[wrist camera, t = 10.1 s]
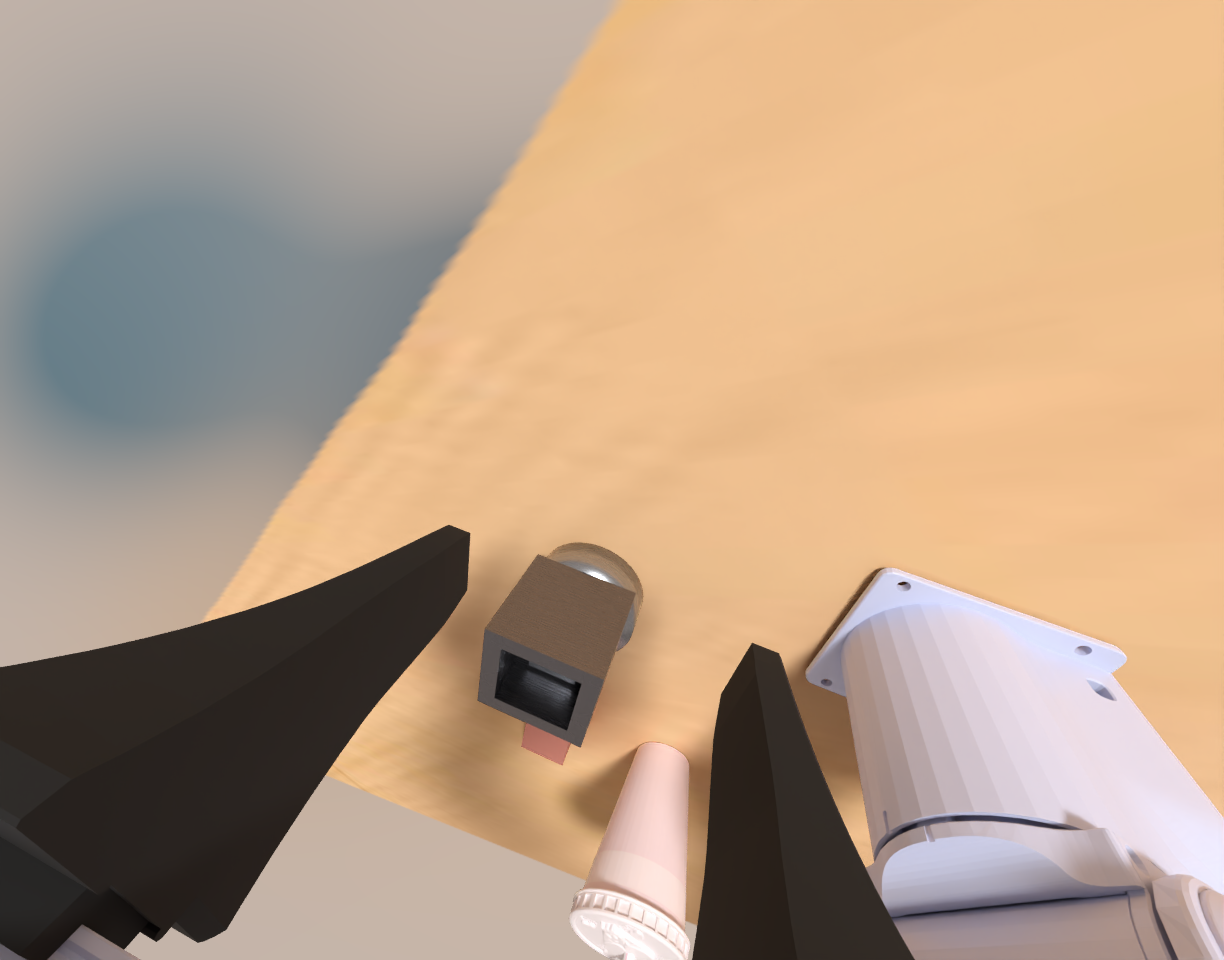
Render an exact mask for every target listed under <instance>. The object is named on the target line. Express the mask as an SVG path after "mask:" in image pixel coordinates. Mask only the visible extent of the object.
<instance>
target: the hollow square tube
mask: <svg viewBox="0 0 1224 960" xmlns="http://www.w3.org/2000/svg"><path fill="white" fill-rule="evenodd" d="M635 595H636V593H635V592H632V591H630V590H627V589H625V588H622V587H620V586H617V585H615V584H612V583H609V582H607V581H604V580H602V579H599V578H597V577H594V576H592V575H589V574H587V573H584V572H581V571H579V570H577V569H574V568H571V567H569V566H566V565H564V564H561V563H559V562H556V561H554V560H551V559H549V558H546V557H544V556H541V555H539V554H538V555H537V557H536V558H535V560H534V561H533V562H532V564H531V565H530V567H529V568H528V569H527V571H526V572H525V574H524V575H523V576H522V578H521V579H520V581H519V582H518V583H517V585H516V586H515V587H514V589H513V590H512V592H511V593H510V594H509V596H508V597H507V599H506V600H505V601H504V603H503V604H502V606H501V607H500V608H499V610H498V611H497V613H496V614H495V615H494V617H493V618H492V620H491V621H490V622H489V624H488V625H487V627H486V628H485V633H484V643H483V653H482V663H481V673H480V683H479V693H478V701H479V702H482V703H484V704H486V705H488V706H490V707H493V708H495V709H497V710H499V711H501V712H504V713H506V714H508V715H510V716H512V717H515V718H517V719H519V720H521V721H523V722H526V723H528V724H530V725H532V726H534V727H537V728H539V729H541V730H543V731H545V732H548V733H550V734H552V735H554V736H556V737H559V738H561V739H563V740H565V741H567V742H570V743H572V744H574V745H576V746H578V747H581V745H582V742H583V739H584V737H585V734H586V731H587V728H588V726H589V723H590V720H591V717H592V715H593V712H594V709H595V706H596V704H597V701H598V698H599V695H600V693H601V690H602V687H603V684H604V682H605V679H606V676H607V673H608V671H609V668H610V665H611V662H612V660H613V657H614V654H615V651H616V648H617V646H618V643H619V640H620V637H621V634H622V632H623V629H624V626H625V623H626V620H627V618H628V615H629V612H630V609H631V606H632V603H633V601H634V598H635ZM529 661H530V662H533V663H535V664H537V665H539V666H542V667H544V668H546V669H549V670H551V671H553V672H556V673H558V674H560V675H563V676H565V677H567V678H570V679H572V680H574V681H576V682H575V684H572V683H569V682H567V681H565V680H562V679H560V678H558V677H555V676H553V675H551V674H548V673H546V672H544V671H541V670H539V669H537V668H534V667H532V666H530V665H529Z"/></svg>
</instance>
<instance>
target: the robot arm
mask: <svg viewBox="0 0 1224 960" xmlns="http://www.w3.org/2000/svg"><path fill="white" fill-rule="evenodd" d="M469 546H470V533H469V532H466V531H463V530H461V529H458V528H456V527H453V526H451V525H447V526H445V527H443V528H441V529H439V530H437V531H434V532H432V533H430V534H428V535H426V536H424V537H422V538H420V539H418V540H416V541H414V542H412V543H410V544H408V545H406V546H403V547H401V548H399V549H397V550H395V551H393V552H391V553H389V554H387V555H385V556H382V557H380V558H378V559H376V560H374V561H372V562H369V563H367V564H365V565H363V566H361V567H359V568H356V569H354V570H352V571H349V572H347V573H345V574H342V575H340V576H337V577H335V578H333V579H330V580H328V581H326V582H323V583H321V584H318V585H316V586H313V587H311V588H308V589H306V590H303V591H301V592H298V593H295V594H292V595H290V596H287V597H284V598H281V599H278V600H275V601H272V602H270V603H267V604H264V605H261V606H258V607H255V608H252V609H249V610H246V611H242V612H239V613H235V614H232V615H228V616H225V617H222V618H218V619H215V620H211V621H208V622H204V623H201V624H198V625H194V626H191V627H188V628H184V629H180V630H176V631H172V632H168V633H164V634H160V635H156V636H152V637H148V638H144V639H139V640H135V641H131V642H126V643H122V644H118V645H114V646H109V647H104V648H99V649H95V650H90V651H85V652H80V653H75V654H69V655H65V656H59V657H54V658H48V659H43V660H38V661H33V662H28V663H22V664H17V665H11V666H5V667H0V960H140V959H138V958H137V957H135V956H133V955H132V954H130V953H128V952H127V951H125V950H124V949H125V948H126V947H127V946H128V945H129V944H130V942H131V941H132V940H133V939H134V938H135V937H136V936H137V934H138V933H139V932H141V933H143V934H144V935H146V936H148V937H149V938H151V939H152V940H154V941H156V942H157V941H158V940H160V939H161V938H162V937H163V936H164V935H165V934H166V933H167V931H168V930H169V929H170V928H171V927H172V928H174V929H176V930H177V931H179V932H181V933H182V934H184V935H186V936H187V937H189V938H191V939H192V940H194V941H196V942H197V943H199V942H203V941H205V940H208V939H210V938H212V937H214V936H216V935H218V934H220V933H221V932H223V931H225V930H226V929H227V928H228V926H229V924H230V923H231V921H232V919H233V918H234V916H235V914H236V913H237V911H238V909H239V908H240V906H241V905H242V903H243V901H244V899H245V898H246V897H247V895H248V893H249V892H250V890H251V888H252V887H253V885H254V884H255V882H256V880H257V879H258V877H259V876H260V874H261V872H262V871H263V869H264V867H265V866H266V864H267V863H268V861H269V859H270V858H271V856H272V855H273V853H274V851H275V850H276V848H277V847H278V845H279V844H280V842H281V841H282V839H283V838H284V836H285V834H286V833H287V832H288V830H289V829H290V827H291V825H292V824H293V822H294V821H295V819H296V818H297V816H298V815H299V813H300V812H301V810H302V809H303V807H304V806H305V804H306V803H307V801H308V800H309V798H310V797H311V795H312V794H313V792H314V790H315V789H316V788H317V786H318V785H319V784H320V782H321V781H322V779H323V777H324V776H325V775H326V773H327V772H328V770H329V769H330V768H331V766H332V765H333V763H334V762H335V760H336V759H337V757H338V756H339V754H340V753H341V752H342V750H343V749H344V747H345V746H346V745H347V743H348V742H349V740H350V739H351V738H352V736H353V735H354V733H355V732H356V731H357V729H358V728H359V727H360V725H361V724H362V722H363V721H364V720H365V718H366V717H367V716H368V714H369V713H370V712H371V711H372V709H373V708H374V707H375V705H376V704H377V703H378V702H379V700H380V699H381V698H382V697H383V696H384V695H385V693H386V692H387V691H388V690H389V689H390V688H391V686H392V685H393V684H394V683H395V682H396V681H397V679H398V678H399V677H400V676H401V675H402V674H403V672H404V671H405V670H406V669H407V668H408V667H409V665H410V664H411V663H412V662H413V661H414V660H415V658H416V657H417V656H418V655H419V654H420V653H421V651H422V650H423V649H424V648H425V647H426V645H427V644H428V643H429V642H430V641H431V640H432V638H433V637H434V636H435V635H436V634H437V632H438V631H439V630H440V629H441V628H442V626H443V625H444V624H445V623H446V621H447V620H448V618H449V617H450V615H451V614H452V612H453V611H454V609H455V608H456V606H457V605H458V603H459V602H460V600H461V599H462V597H463V596H464V594H465V592H466V591H467V583H468V564H469ZM900 582H908V583H907V584H905V585H897V584H898V583H900ZM1079 646H1083V647H1079ZM1077 647H1079V648H1077ZM1126 660H1127V657H1126V656H1125V654H1124V653H1123V652H1122V651H1121V649H1120V648H1118V647H1116V646H1114V645H1112V644H1109V643H1106V642H1103V641H1100V640H1097V639H1094V638H1092V637H1089V636H1086V635H1083V634H1080V633H1077V632H1075V631H1072V630H1069V629H1066V628H1063V627H1060V626H1058V625H1055V624H1052V623H1049V622H1046V621H1043V620H1041V619H1038V618H1035V617H1032V616H1029V615H1026V614H1024V613H1021V612H1018V611H1015V610H1012V609H1009V608H1007V607H1004V606H1001V605H998V604H995V603H992V602H989V601H987V600H984V599H981V598H978V597H975V596H972V595H970V594H967V593H964V592H961V591H958V590H955V589H953V588H950V587H947V586H944V585H941V584H938V583H936V582H933V581H930V580H927V579H924V578H921V577H919V576H916V575H913V574H910V573H907V572H904V571H901V570H899V569H896V568H885V569H882V570H880V571H879V572H878V573H877V575H876V576H875V577H874V579H873V580H872V581H871V583H870V584H869V585H868V587H867V588H866V589H865V591H864V592H863V593H862V595H861V596H860V598H859V599H858V600H857V602H856V603H855V604H854V606H853V607H852V608H851V610H850V611H849V612H848V614H847V615H846V616H845V618H844V619H843V620H842V622H841V623H840V625H839V626H838V627H837V629H836V630H835V631H834V633H833V634H832V635H831V637H830V638H829V639H828V641H827V642H826V643H825V645H824V646H823V647H822V649H821V650H820V651H819V653H818V654H817V656H816V657H815V658H814V660H813V661H812V662H811V664H810V665H809V666H808V668H807V669H806V671H805V673H806V679H807V680H808V682H810V683H812V684H814V685H817V686H819V687H822V688H824V689H827V690H829V691H832V692H834V693H837V694H839V695H842V696H844V697H846V698H847V704H848V710H849V716H850V722H851V728H852V734H853V740H854V746H855V751H856V757H857V763H858V769H859V775H860V781H861V787H862V793H863V799H864V805H865V811H866V817H867V823H868V829H869V834H870V840H871V846H872V852H873V858H874V863H873V864H872V865H870V866H868V867H866V868H865V866H864V864H863V862H862V860H861V858H860V856H859V854H858V852H857V850H856V848H855V846H854V843H853V841H852V839H851V837H850V835H849V833H848V831H847V828H846V826H845V824H844V822H843V820H842V818H841V815H840V813H839V811H838V808H837V806H836V804H835V802H834V799H833V797H832V795H831V792H830V790H829V788H828V785H827V783H826V781H825V778H824V776H823V773H822V771H821V769H820V766H819V763H818V761H817V758H816V756H815V753H814V751H813V748H812V745H811V743H810V740H809V738H808V735H807V733H806V730H805V727H804V724H803V722H802V719H801V716H800V713H799V710H798V708H797V705H796V702H795V699H794V696H793V693H792V690H791V687H790V684H789V681H788V678H787V675H786V672H785V669H784V666H783V663H782V660H781V657H780V655H779V653H777V652H774V651H772V650H769V649H766V648H764V647H761V646H759V645H756V644H754V643H752V644H751V646H750V647H749V649H748V651H747V652H746V654H745V655H744V657H743V659H742V660H741V662H740V664H739V665H738V667H737V669H736V670H735V672H734V674H733V675H732V677H731V679H730V680H729V682H728V684H727V685H726V687H725V689H724V690H723V692H722V694H721V698H720V704H719V709H718V715H717V720H716V726H715V733H714V739H713V753H712V769H711V786H710V804H709V821H708V839H707V854H706V865H705V876H704V883H703V890H702V897H701V904H700V911H699V918H698V925H697V933H696V939H695V945H694V951H693V958H692V960H1224V818H1223V816H1222V815H1221V814H1220V812H1219V811H1218V810H1217V809H1216V807H1215V806H1214V805H1213V803H1212V802H1211V801H1210V800H1209V798H1208V797H1207V796H1206V795H1205V793H1204V792H1203V791H1202V789H1201V788H1200V787H1199V786H1198V784H1197V783H1196V782H1195V780H1194V779H1193V778H1192V777H1191V775H1190V774H1189V773H1188V771H1187V770H1186V769H1185V768H1184V766H1183V765H1182V764H1181V762H1180V761H1179V760H1178V759H1177V757H1176V756H1175V755H1174V753H1173V752H1172V751H1171V750H1170V748H1169V747H1168V746H1167V745H1166V743H1165V742H1164V741H1163V739H1162V738H1161V737H1160V736H1159V734H1158V733H1157V732H1156V730H1155V729H1154V728H1153V727H1152V725H1151V724H1150V723H1149V721H1148V720H1147V719H1146V718H1145V716H1144V715H1143V714H1142V712H1141V711H1140V710H1139V709H1138V707H1137V706H1136V705H1135V703H1134V702H1133V701H1132V700H1131V698H1130V697H1129V696H1128V694H1127V693H1126V692H1125V691H1124V689H1123V688H1122V687H1121V686H1120V684H1119V683H1118V682H1117V680H1116V679H1115V678H1114V677H1113V675H1112V674H1111V673H1113V672H1114V671H1115V670H1117V669H1118V668H1119V667H1121V666H1122V665H1123V664H1124V663H1125V662H1126ZM825 679H829V680H825Z"/></svg>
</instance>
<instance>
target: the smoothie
mask: <svg viewBox="0 0 1224 960" xmlns="http://www.w3.org/2000/svg"><path fill="white" fill-rule="evenodd" d="M688 798H689V762H688V760H687V759H686V757H685V756H684V755H683V754H682V753H681V752H679V751H678V750H676V749H675V748H673V747H671V746H668V745H666V744H662V743H657V742H648V743H644V744H642V745H640V746H639V747H638V749H637V752H636V754H635V757H634V759H633V762H632V765H631V767H630V770H629V772H628V775H627V777H626V780H625V782H624V785H623V788H622V790H621V793H620V795H619V798H618V800H617V803H616V806H615V808H614V811H613V813H612V816H611V818H610V821H609V823H608V826H607V829H606V831H605V834H604V836H603V839H602V841H601V844H600V847H599V849H598V852H597V854H596V856H595V859H594V861H593V864H592V867H591V869H590V872H589V875H588V877H587V880H586V883H585V885H584V888H583V889H580V890H579V891H578V892H576V893H575V895H574V899H573V902H574V903H573V906H572V910H571V913H570V916H569V921H570V925H571V927H572V929H573V930H574V931H575V933H576V934H577V935H578V936H579V937H580V938H581V939H582V940H583V941H584V942H585V943H586V944H587V945H589V946H590V947H591V948H593V949H594V950H596V951H597V952H599V953H600V954H602V955H603V956H605V957H607V958H609V959H610V960H688V952H689V950H690V940H689V938H688V937H687V935H686V933H685V912H686V873H687V836H688Z"/></svg>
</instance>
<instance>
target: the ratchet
mask: <svg viewBox="0 0 1224 960" xmlns="http://www.w3.org/2000/svg"><path fill="white" fill-rule="evenodd" d="M547 558H549V559H551V560H554V561H556V562H559V563H561V564H564V565H566V566H569V567H571V568H574V569H577V570H579V571H581V572H584V573H587V574H589V575H592V576H594V577H597V578H599V579H602V580H604V581H607V582H609V583H612V584H615V585H617V586H620V587H622V588H625V589H627V590H630V591H632V592H635V593H636V595H635V598H634V601H633V603H632V606H631V609H630V612H629V615H628V618H627V620H626V623H625V626H624V629H623V632H622V634H621V637H620V640H619V643H618V646H617V648H616V651H618V650H620V649H621V648H623V647H624V646H625V645H626V644H627V643H628V641H629V640H630V638H631V635H632V632H633V630H634V627H635V624H636V621H637V618H638V615H639V612H640V609H641V606H642V602H643V590H642V586H641V583H640V581H639V578H638V577H637V575H636V573H635V572H634V570H633V569H632V568H631V567H630V566H629V565H628V564H627V562H625V561H624V560H623V559H622V558H621V557H619V556H618V555H616V554H615V553H613V552H611V551H610V550H607V549H605V548H603V547H600V546H597V545H593V544H589V543H570V544H566V545H562V546H560V547H558V548H556V549H555V550H553V551H552V552H551V553H550V554H549V556H548V557H547ZM616 651H615V652H616ZM529 665H530V666H532V667H534V668H537V669H539V670H541V671H544V672H546V673H548V674H551V675H553V676H555V677H558V678H560V679H562V680H565V681H567V682H569V683H572V684H575V682H576V681H574V680H572V679H570V678H567V677H565V676H563V675H560V674H558V673H556V672H553V671H551V670H549V669H546V668H544V667H542V666H539V665H537V664H535V663H533V662H530V661H529ZM570 744H571V743H570V742H567V741H565V740H563V739H561V738H559V737H556V736H554V735H552V734H550V733H548V732H545V731H543V730H541V729H539V728H537V727H534V726H532V725H530V724H528V723H526V726H525V731H524V736H523V741H522V746H521V747H523V748H525V749H528V750H530V751H532V752H534V753H536V754H538V755H541V756H543V757H545V758H547V759H549V760H551V761H554V762H556V763H558V764H560V765H563V762H564V759H565V757H566V754H567V752H568V749H569V746H570Z"/></svg>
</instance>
